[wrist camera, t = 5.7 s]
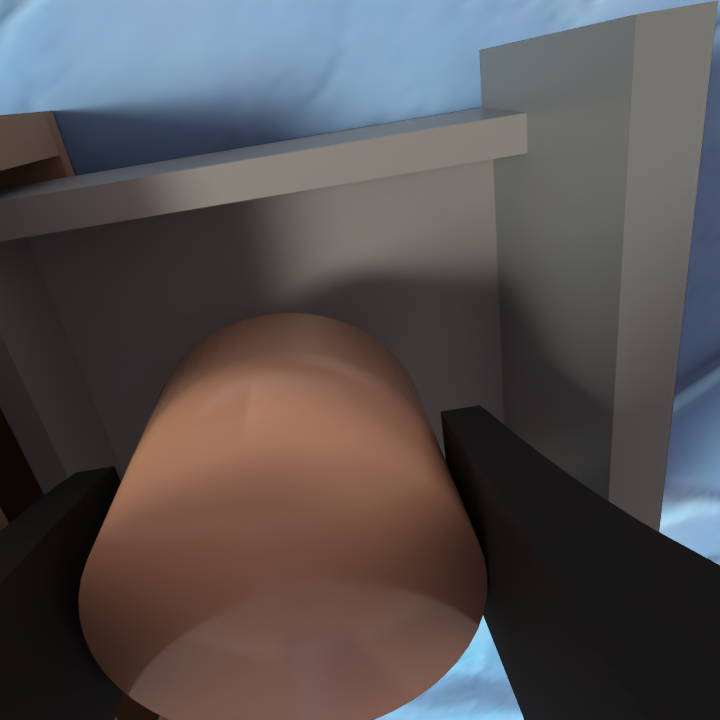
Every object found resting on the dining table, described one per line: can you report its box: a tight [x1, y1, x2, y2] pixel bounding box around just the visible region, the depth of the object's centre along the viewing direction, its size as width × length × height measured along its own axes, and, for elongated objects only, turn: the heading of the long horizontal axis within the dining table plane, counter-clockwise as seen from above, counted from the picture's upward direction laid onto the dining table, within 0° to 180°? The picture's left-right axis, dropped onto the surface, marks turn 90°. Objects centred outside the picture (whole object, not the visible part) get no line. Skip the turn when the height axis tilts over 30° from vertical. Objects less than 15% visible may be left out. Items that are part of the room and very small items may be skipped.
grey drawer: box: [0, 1, 718, 532], centre depth 11 cm, size 11×12×6 cm
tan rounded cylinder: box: [78, 313, 487, 720], centre depth 9 cm, size 5×5×4 cm
